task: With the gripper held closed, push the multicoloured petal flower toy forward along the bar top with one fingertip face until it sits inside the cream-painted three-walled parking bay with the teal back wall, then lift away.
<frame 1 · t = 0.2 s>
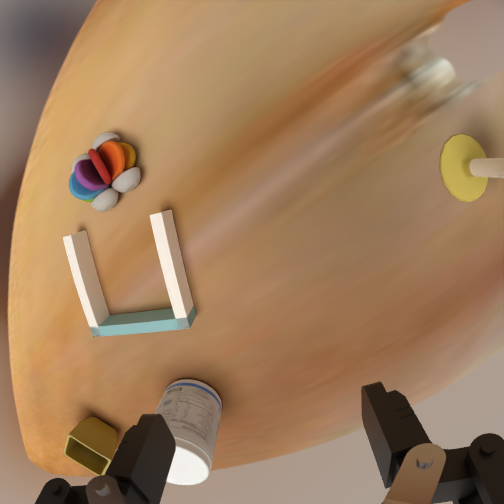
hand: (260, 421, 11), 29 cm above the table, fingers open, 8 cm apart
bay: (133, 272, 40), on the table
candle: (464, 167, 35), on the table
multicoloured petal flower toy: (112, 172, 37), on the table
supplement tub: (193, 398, 45), on the table
flower pot: (103, 427, 48), on the table
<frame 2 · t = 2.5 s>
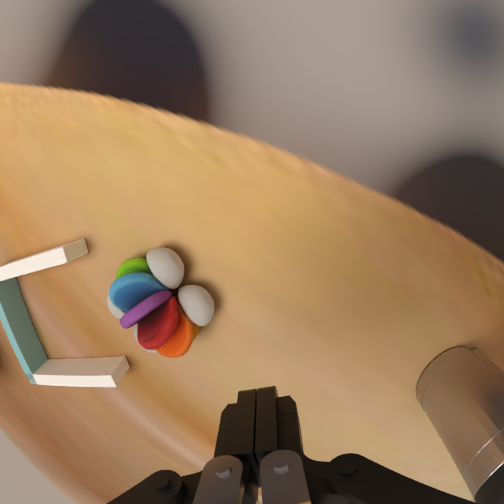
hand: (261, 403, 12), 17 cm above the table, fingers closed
bay: (59, 314, 30), on the table
multicoloured petal flower toy: (165, 294, 29), on the table
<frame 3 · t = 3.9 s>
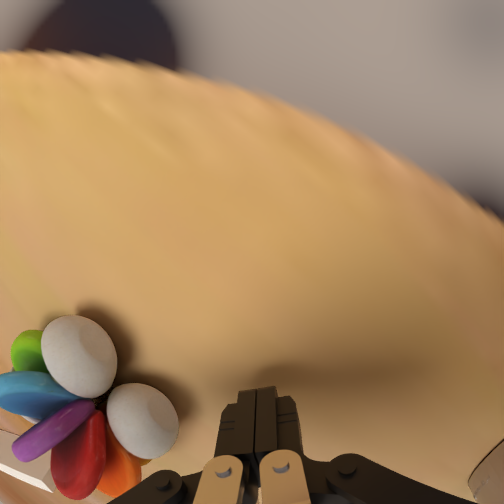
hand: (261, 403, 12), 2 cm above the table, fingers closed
multicoloured petal flower toy: (99, 383, 15), on the table
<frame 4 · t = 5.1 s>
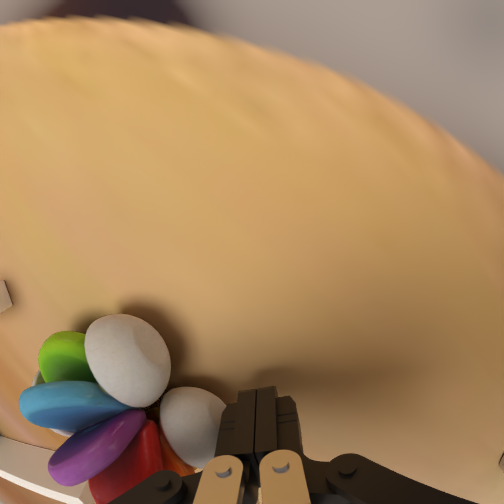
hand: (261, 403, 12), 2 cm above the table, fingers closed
multicoloured petal flower toy: (137, 387, 14), on the table, touching gripper
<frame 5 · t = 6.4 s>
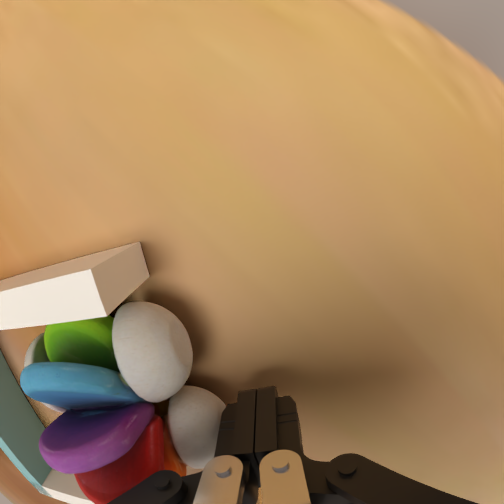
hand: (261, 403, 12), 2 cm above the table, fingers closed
bay: (78, 394, 14), on the table
multicoloured petal flower toy: (137, 373, 14), on the table, touching gripper
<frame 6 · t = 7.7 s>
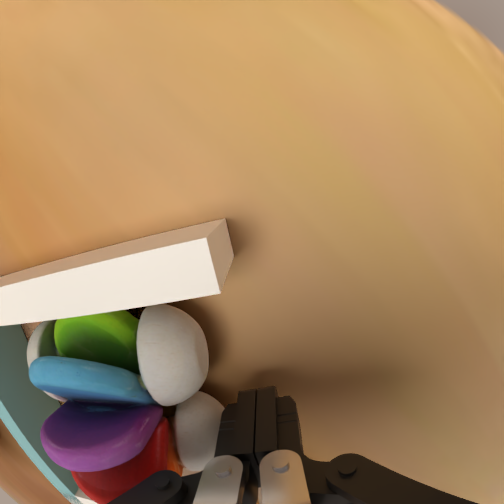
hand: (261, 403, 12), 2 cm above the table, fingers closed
bay: (126, 393, 14), on the table
multicoloured petal flower toy: (141, 370, 14), on the table, touching gripper
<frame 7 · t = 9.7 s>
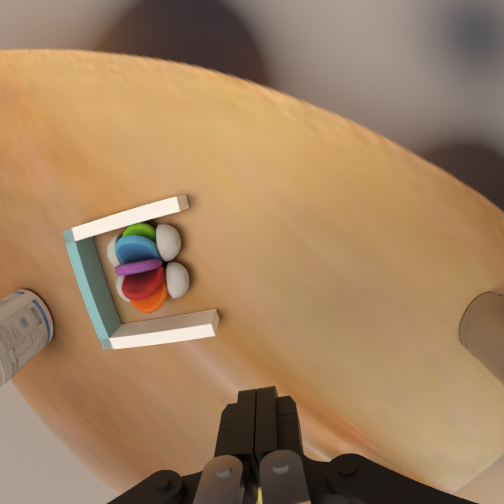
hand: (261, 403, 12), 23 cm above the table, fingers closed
bay: (145, 272, 35), on the table
multicoloured petal flower toy: (153, 259, 35), on the table
supplement tub: (34, 316, 37), on the table
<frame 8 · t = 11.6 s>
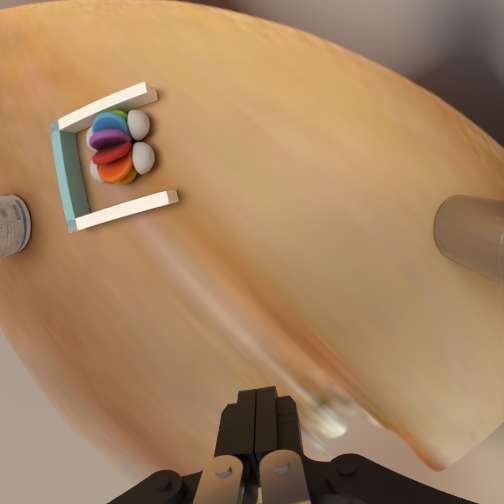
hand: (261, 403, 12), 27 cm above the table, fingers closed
bay: (115, 160, 36), on the table
multicoloured petal flower toy: (126, 148, 36), on the table
supplement tub: (15, 222, 38), on the table
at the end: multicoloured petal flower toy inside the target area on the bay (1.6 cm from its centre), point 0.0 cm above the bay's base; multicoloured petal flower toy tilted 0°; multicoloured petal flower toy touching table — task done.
